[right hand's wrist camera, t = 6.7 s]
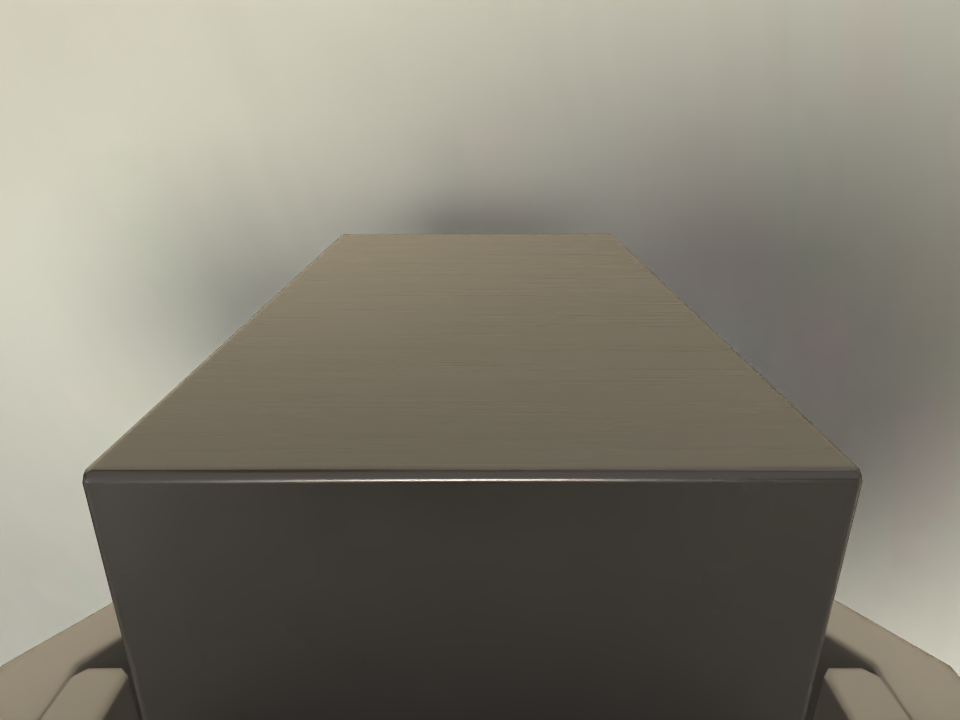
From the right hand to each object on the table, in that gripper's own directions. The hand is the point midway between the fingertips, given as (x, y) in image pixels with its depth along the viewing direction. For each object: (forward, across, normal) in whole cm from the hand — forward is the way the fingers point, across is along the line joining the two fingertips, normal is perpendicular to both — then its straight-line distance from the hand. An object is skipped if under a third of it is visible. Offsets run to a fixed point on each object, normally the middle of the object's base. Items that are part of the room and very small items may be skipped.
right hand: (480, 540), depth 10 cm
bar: (+3, 0, -9) cm, 9 cm away
